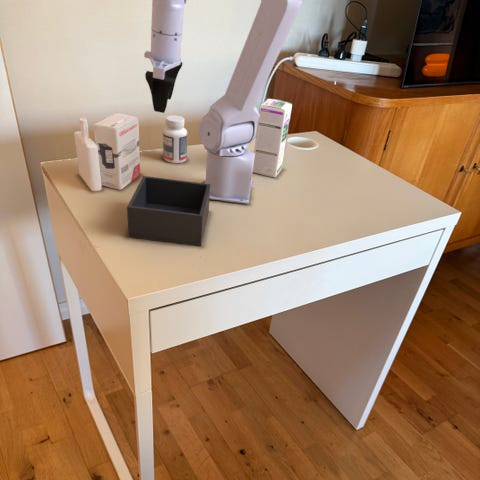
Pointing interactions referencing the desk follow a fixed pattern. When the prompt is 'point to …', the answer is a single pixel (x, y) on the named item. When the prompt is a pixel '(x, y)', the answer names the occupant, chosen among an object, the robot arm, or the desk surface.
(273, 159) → the syrup box
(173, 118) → the pill bottle
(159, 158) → the desk surface
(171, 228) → the dark grey open box
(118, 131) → the ink box
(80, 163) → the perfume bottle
